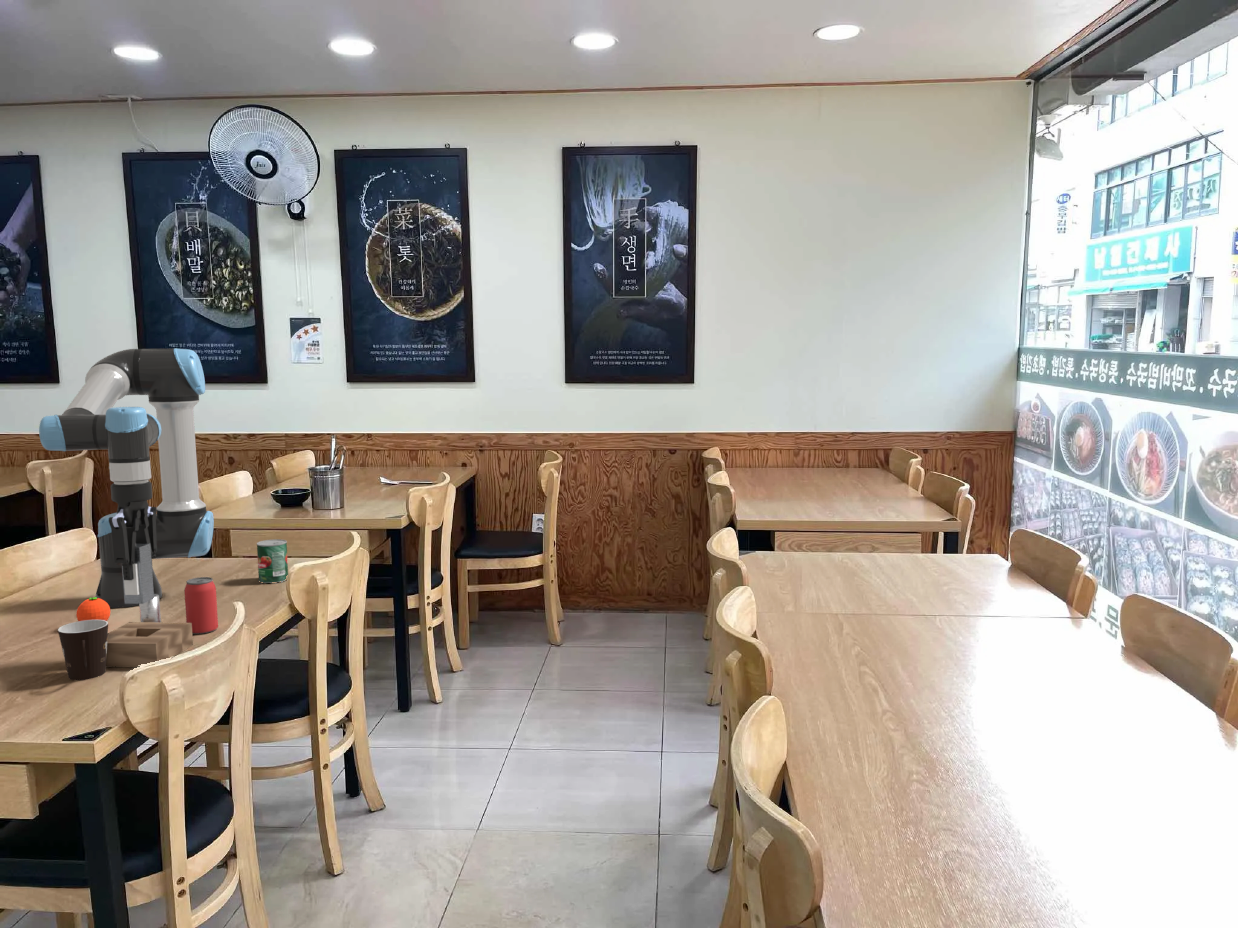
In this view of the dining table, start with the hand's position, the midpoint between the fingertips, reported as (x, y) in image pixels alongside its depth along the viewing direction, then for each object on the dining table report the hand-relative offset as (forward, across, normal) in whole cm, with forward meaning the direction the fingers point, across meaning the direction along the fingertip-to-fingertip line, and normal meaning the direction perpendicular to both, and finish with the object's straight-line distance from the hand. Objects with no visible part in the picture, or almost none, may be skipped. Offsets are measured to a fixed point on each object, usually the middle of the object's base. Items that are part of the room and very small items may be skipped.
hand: (139, 591), depth 188 cm
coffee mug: (+14, +13, -5) cm, 20 cm away
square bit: (+2, 0, 0) cm, 2 cm away
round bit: (+14, -10, -4) cm, 18 cm away
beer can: (+14, -17, +4) cm, 23 cm away
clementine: (+14, -19, -23) cm, 33 cm away
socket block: (+14, 0, 0) cm, 14 cm away
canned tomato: (+14, -62, +1) cm, 64 cm away
